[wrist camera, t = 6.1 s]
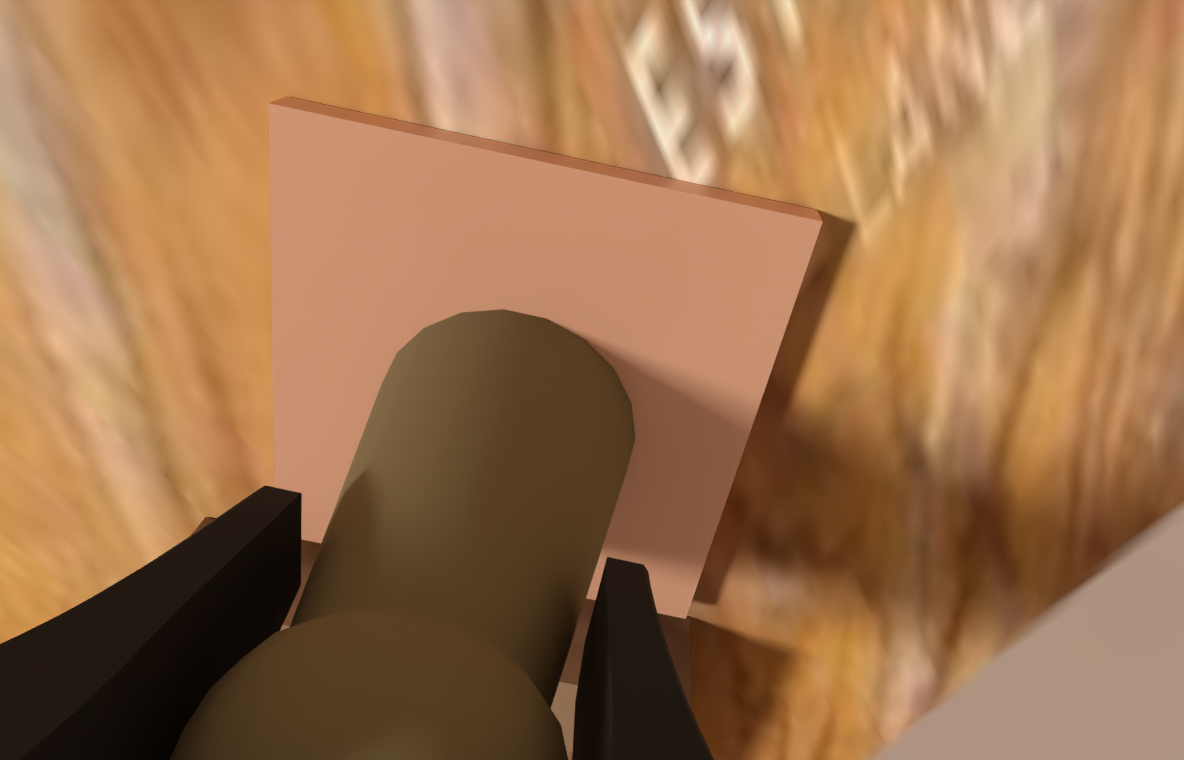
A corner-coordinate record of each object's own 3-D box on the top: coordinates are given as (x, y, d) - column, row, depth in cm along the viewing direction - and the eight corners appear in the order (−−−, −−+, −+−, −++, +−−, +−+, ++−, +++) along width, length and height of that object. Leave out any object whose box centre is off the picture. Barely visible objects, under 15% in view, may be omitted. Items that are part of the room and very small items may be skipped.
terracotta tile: (288, 514, 21) (275, 534, 21) (286, 96, 16) (268, 103, 15) (685, 597, 21) (685, 618, 21) (816, 209, 16) (823, 221, 15)
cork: (471, 253, 16) (184, 689, 7) (690, 418, 18) (710, 971, 8) (332, 437, 19) (-17, 941, 9) (534, 567, 20) (409, 1121, 11)
